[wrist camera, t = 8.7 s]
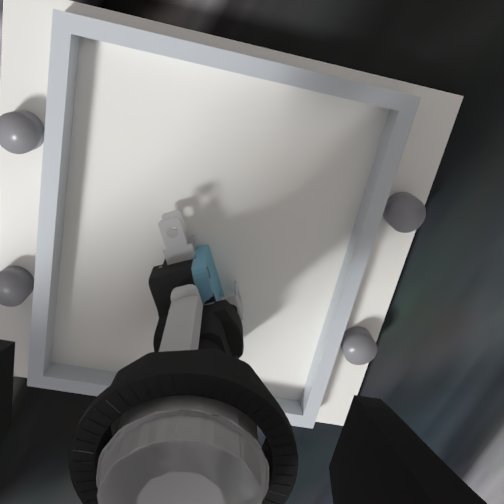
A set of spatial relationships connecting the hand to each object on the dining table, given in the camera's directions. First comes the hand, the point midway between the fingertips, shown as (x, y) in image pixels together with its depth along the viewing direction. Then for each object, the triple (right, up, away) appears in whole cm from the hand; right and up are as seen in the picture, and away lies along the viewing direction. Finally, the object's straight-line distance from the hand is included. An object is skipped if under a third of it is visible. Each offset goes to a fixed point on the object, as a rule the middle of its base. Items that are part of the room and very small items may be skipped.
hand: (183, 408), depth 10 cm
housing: (0, +4, +9) cm, 10 cm away
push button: (-1, +2, +9) cm, 10 cm away
